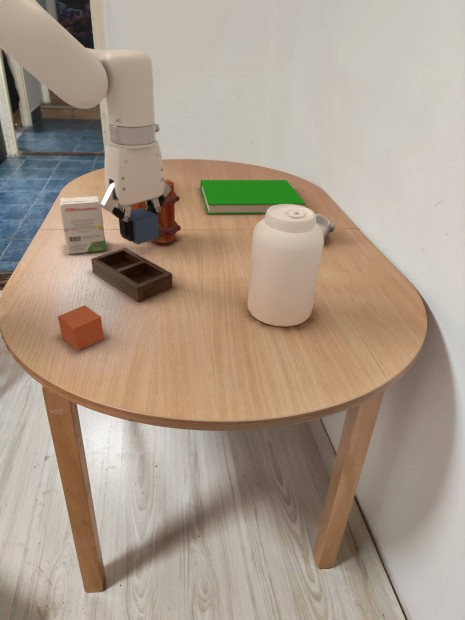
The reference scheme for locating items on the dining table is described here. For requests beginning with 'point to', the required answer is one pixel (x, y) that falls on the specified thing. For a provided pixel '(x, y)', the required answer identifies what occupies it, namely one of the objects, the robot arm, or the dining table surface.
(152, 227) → the cube blue
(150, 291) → the dark wooden tray
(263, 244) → the can
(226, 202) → the book
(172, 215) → the mug
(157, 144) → the robot arm
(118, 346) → the dining table surface
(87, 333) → the orange block
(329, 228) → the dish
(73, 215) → the ink box
